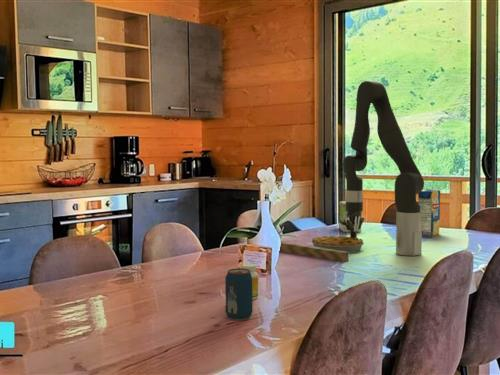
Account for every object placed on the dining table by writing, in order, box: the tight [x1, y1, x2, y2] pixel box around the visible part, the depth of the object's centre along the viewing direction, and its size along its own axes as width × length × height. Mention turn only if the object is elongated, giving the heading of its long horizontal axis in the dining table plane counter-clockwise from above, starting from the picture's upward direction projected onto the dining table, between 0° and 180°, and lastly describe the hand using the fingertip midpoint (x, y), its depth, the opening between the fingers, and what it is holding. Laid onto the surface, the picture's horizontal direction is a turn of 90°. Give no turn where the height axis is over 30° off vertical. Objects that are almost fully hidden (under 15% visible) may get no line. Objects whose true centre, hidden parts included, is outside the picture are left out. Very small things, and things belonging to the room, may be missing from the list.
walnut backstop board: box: [279, 241, 349, 263], centre depth 230 cm, size 36×3×4 cm, turn 46°
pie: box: [311, 235, 364, 254], centre depth 244 cm, size 22×22×5 cm
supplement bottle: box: [241, 263, 259, 301], centre depth 165 cm, size 5×5×10 cm
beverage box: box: [417, 189, 441, 238], centre depth 283 cm, size 7×11×22 cm, turn 141°
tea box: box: [338, 200, 363, 233], centre depth 299 cm, size 15×10×15 cm
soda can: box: [224, 267, 254, 321], centre depth 146 cm, size 7×7×12 cm
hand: (353, 239), depth 253 cm, fingers closed
